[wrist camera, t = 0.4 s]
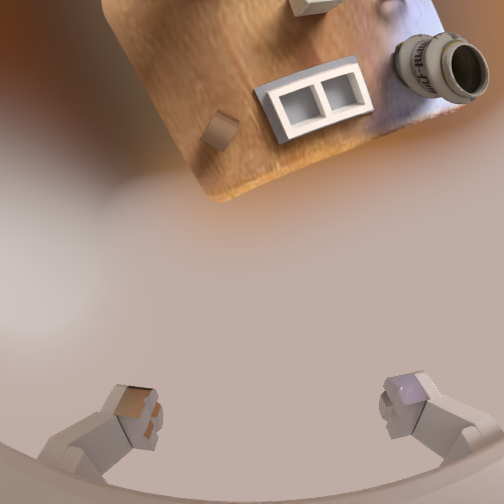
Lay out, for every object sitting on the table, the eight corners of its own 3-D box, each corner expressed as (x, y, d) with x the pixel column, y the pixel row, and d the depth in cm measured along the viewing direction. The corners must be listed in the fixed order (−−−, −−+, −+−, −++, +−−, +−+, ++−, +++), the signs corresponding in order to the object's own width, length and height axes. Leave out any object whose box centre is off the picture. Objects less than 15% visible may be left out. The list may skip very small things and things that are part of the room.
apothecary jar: (397, 24, 38) (454, 15, 22) (444, 58, 40) (505, 64, 25) (376, 74, 44) (430, 80, 29) (424, 105, 46) (483, 125, 31)
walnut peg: (219, 109, 48) (213, 116, 39) (238, 120, 49) (238, 129, 40) (207, 128, 49) (199, 139, 41) (227, 138, 51) (223, 152, 42)
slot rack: (278, 143, 51) (282, 150, 47) (253, 88, 46) (254, 89, 41) (373, 109, 47) (384, 113, 43) (353, 55, 42) (363, 53, 38)
